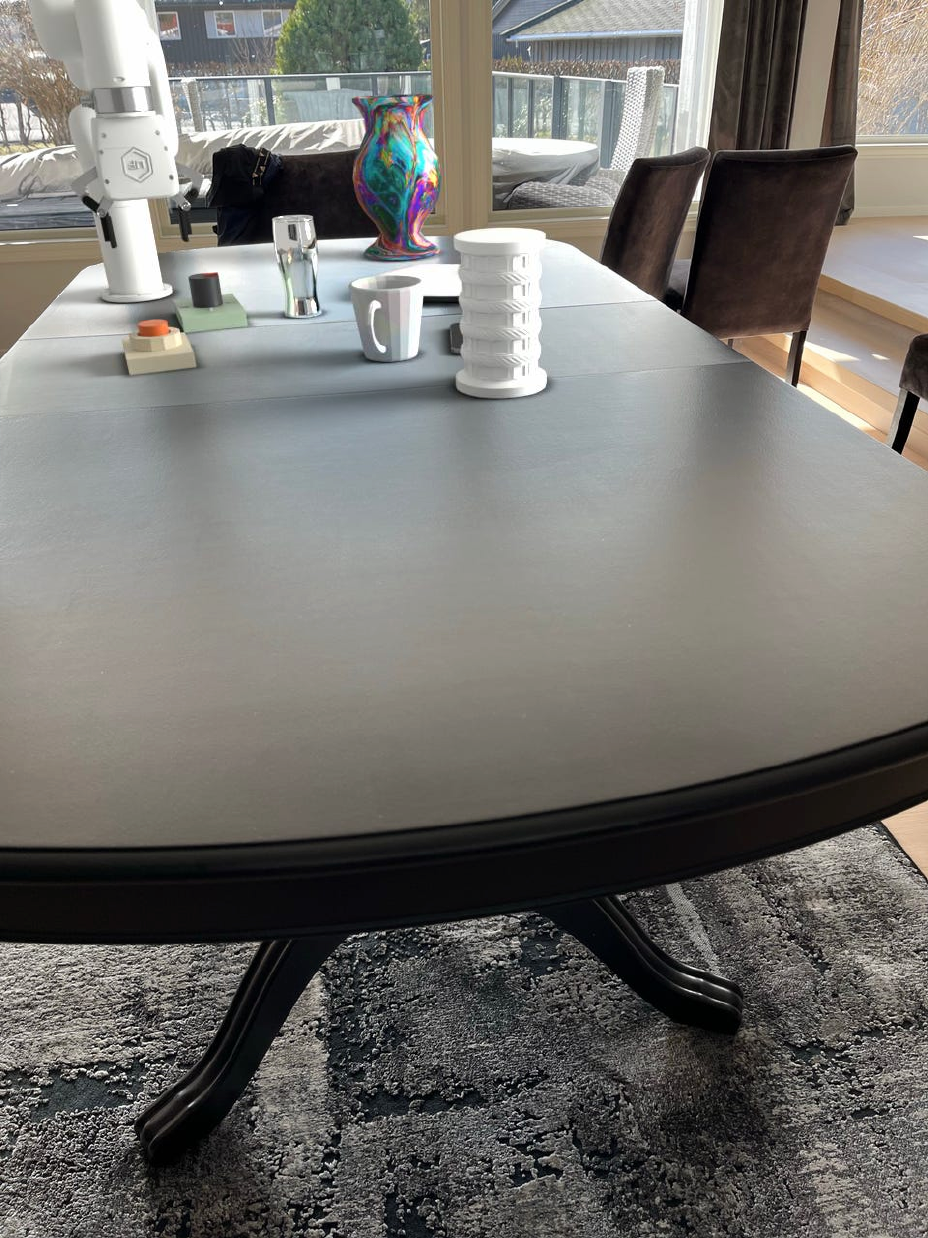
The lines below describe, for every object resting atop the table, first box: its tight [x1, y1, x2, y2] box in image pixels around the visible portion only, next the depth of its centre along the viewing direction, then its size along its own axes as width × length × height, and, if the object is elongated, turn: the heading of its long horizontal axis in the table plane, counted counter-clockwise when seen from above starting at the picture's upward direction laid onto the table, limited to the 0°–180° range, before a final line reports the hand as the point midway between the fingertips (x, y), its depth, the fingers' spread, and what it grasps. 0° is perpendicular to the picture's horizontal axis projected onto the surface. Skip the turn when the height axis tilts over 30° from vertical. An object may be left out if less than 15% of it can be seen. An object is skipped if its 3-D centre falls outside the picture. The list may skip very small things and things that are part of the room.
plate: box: [374, 263, 462, 303], centre depth 171 cm, size 27×27×2 cm
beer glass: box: [271, 214, 323, 319], centre depth 154 cm, size 7×7×15 cm
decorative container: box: [453, 227, 547, 399], centre depth 116 cm, size 12×12×18 cm
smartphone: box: [449, 322, 463, 354], centre depth 140 cm, size 8×1×15 cm
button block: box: [121, 326, 197, 376], centre depth 135 cm, size 12×9×4 cm
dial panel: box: [172, 293, 248, 334], centre depth 156 cm, size 14×10×3 cm
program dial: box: [187, 272, 223, 308], centre depth 154 cm, size 5×5×5 cm
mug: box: [348, 275, 424, 363], centre depth 130 cm, size 10×15×10 cm
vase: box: [350, 93, 442, 261], centre depth 196 cm, size 18×18×30 cm
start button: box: [137, 319, 169, 337], centre depth 133 cm, size 4×4×2 cm
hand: (150, 243), depth 131 cm, fingers open, 9 cm apart
